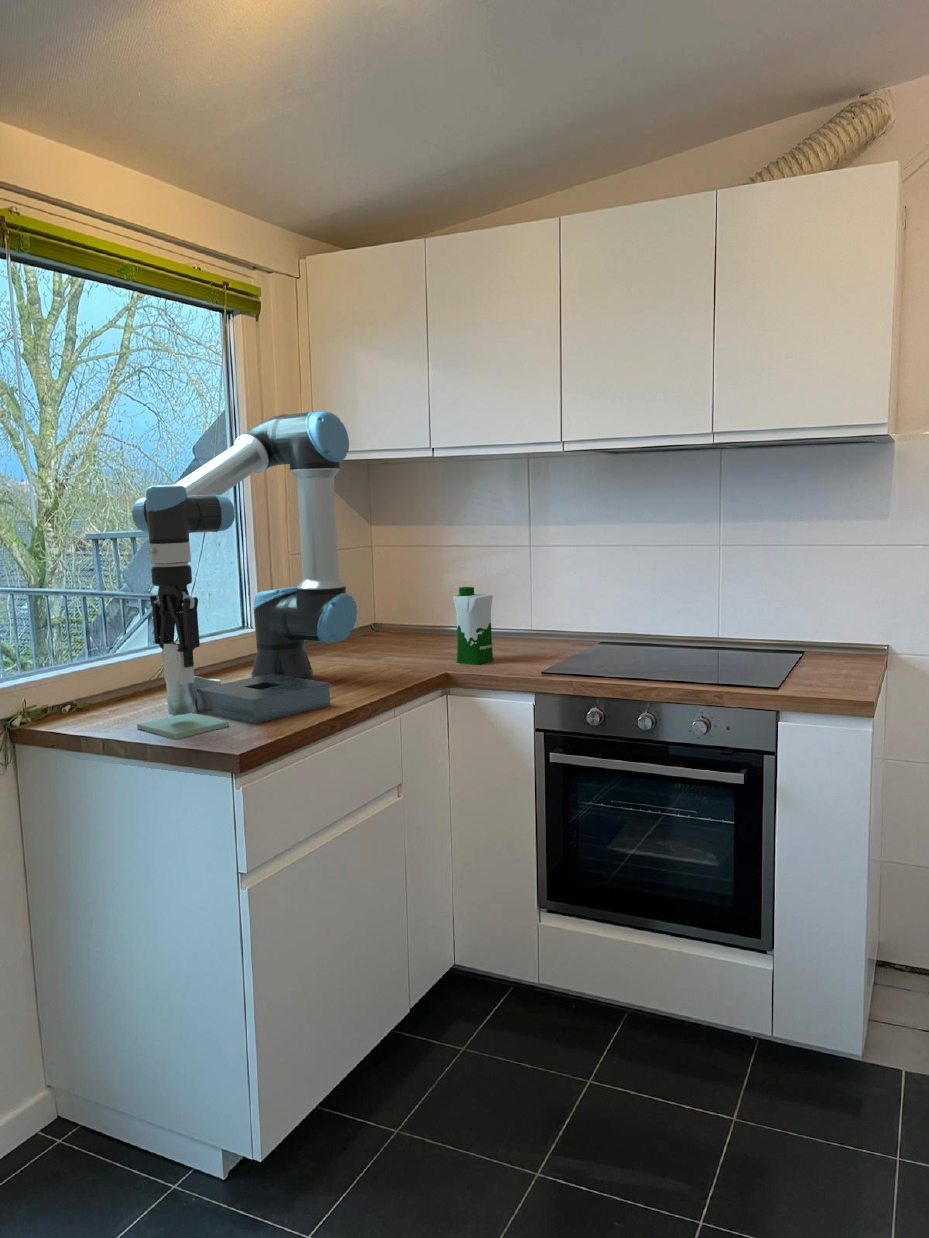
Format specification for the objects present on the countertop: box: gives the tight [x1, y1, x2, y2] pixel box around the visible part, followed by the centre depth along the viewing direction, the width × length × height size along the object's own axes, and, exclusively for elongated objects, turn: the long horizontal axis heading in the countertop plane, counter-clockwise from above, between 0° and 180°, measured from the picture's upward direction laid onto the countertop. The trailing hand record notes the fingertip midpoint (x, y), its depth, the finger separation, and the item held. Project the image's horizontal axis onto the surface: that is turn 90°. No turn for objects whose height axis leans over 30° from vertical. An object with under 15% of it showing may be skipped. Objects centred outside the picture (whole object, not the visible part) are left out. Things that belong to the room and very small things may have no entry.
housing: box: [197, 674, 331, 725], centre depth 200 cm, size 20×20×5 cm
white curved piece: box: [192, 675, 222, 714], centre depth 208 cm, size 24×12×7 cm, turn 10°
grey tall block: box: [163, 640, 195, 716], centre depth 184 cm, size 5×5×14 cm
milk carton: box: [452, 586, 494, 666], centre depth 247 cm, size 9×9×20 cm
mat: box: [136, 713, 230, 740], centre depth 185 cm, size 14×12×1 cm
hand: (179, 681), depth 184 cm, fingers closed on grey tall block, 5 cm apart
